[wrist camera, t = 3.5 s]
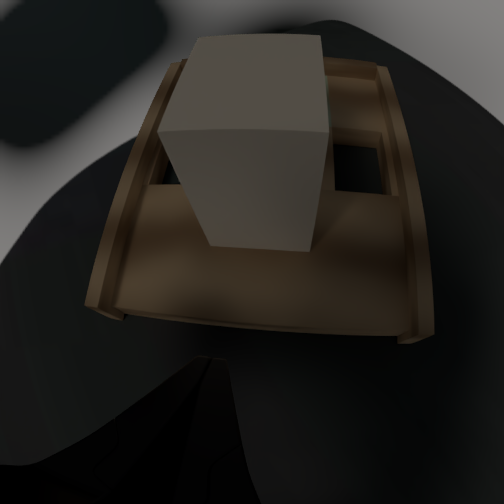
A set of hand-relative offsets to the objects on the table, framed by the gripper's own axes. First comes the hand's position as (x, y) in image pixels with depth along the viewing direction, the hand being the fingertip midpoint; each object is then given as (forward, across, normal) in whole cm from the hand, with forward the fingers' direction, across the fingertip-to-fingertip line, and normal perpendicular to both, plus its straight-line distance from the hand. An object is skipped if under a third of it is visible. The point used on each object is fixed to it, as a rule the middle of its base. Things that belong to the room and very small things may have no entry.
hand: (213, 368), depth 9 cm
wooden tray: (+17, 0, -2) cm, 18 cm away
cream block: (+14, 0, -2) cm, 14 cm away
